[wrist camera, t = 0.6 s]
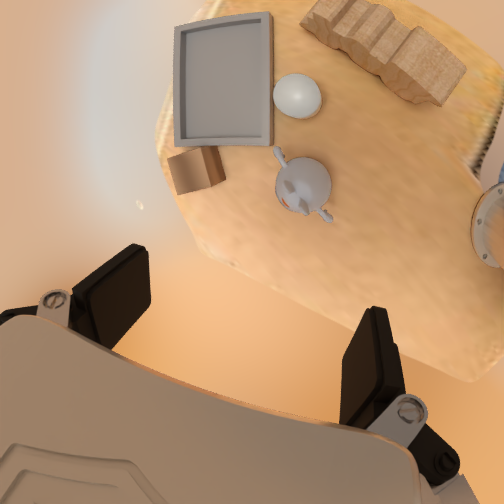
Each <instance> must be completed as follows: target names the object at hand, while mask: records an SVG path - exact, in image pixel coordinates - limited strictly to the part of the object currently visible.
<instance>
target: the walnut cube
mask: <svg viewBox="0 0 504 504" xmlns="http://www.w3.org/2000/svg"><path fill="white" fill-rule="evenodd" d="M167 161H168V164H169V168H170V171H171V175H172V178H173V181H174V185H175V188H176V191H177V195H181V194H185V193H189V192H193V191H197V190H201V189H205V188H209V187H212V186H214V185H216V184H218V183H220V182H222V181H224V180H226V177H225V173H224V169H223V166H222V162H221V158H220V155H219V151H218V147H217V145H216V146H206V147H201V148H197V149H194V150H191V151H188V152H185V153H182V154H179V155H176V156H173V157H170V158H168V159H167Z"/></svg>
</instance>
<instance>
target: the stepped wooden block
mask: <svg viewBox="0 0 504 504" xmlns="http://www.w3.org/2000/svg"><path fill="white" fill-rule="evenodd" d="M299 24H300V26H302V27H303V28H305V29H307V30H309V31H310V32H312V33H314V34H315V36H316V37H317V38H318V40H320V41H321V42H322V43H324V44H325V45H327V46H329V47H331V48H333V49H337V48H340V49H341V50H343V51H345V52H346V53H348V55H349V57H350V58H351V59H352V60H353V61H354V62H355V63H356V64H358V65H359V66H360V67H362V68H363V69H365V70H366V71H368V72H370V73H372V74H376V75H379V76H380V77H381V80H382V81H383V83H384V84H385V85H386V86H387V87H388V88H389V89H390V90H392V91H393V92H394V93H395V94H397V95H398V96H400V97H401V98H403V99H405V100H408V101H411V102H413V103H415V104H418V103H421V102H425V101H430V102H432V103H433V104H435V105H437V106H439V107H442V105H443V104H444V102H445V101H446V100H447V98H448V97H449V95H450V94H451V93H452V91H453V90H454V88H455V87H456V85H457V84H458V82H459V81H460V79H461V78H462V76H463V75H464V74H465V72H466V70H467V69H466V67H465V65H464V64H463V63H462V62H461V61H460V60H459V59H458V58H457V57H456V56H454V55H453V54H452V53H451V52H450V51H449V50H448V49H447V48H446V47H445V46H444V45H442V44H441V43H440V42H439V41H438V40H437V39H435V38H434V37H433V36H432V35H431V34H429V33H428V32H427V31H426V30H424V29H423V28H422V27H419V26H417V27H416V28H414V29H413V30H410V29H408V28H407V27H406V26H404V25H403V24H401V23H400V22H399V21H397V20H396V19H395V16H394V14H393V13H392V12H391V10H389V9H388V8H387V7H385V6H383V5H380V4H371V3H369V2H367V1H365V0H318V1H317V3H316V4H315V5H314V6H313V7H312V9H311V10H310V11H309V12H308V13H307V15H306V16H305V17H304V18H303V20H302V21H301V22H300V23H299Z"/></svg>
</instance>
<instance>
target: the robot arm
mask: <svg viewBox="0 0 504 504" xmlns="http://www.w3.org/2000/svg"><path fill="white" fill-rule="evenodd" d="M477 220H478V221H477ZM471 238H472V243H473V247H474V249H475V252H476V253H477V255H478V257H479V258H480V259H481V260H482V261H483V262H484V263H485V264H487V265H488V266H491V267H495V268H501V267H502V268H503V270H504V182H503V183H499V184H496V185H494V186H493V187H491V188H490V189H489V190H488V191H486V193H485V194H484V195H483V196H482V197H481V199H480V201H479V203H478V204H477V207H476V209H475V212H474V215H473V219H472V226H471ZM72 291H73V294H72V295H69V293H68V292H67V291H65V290H61V289H57V290H51V291H49V292H47V293H46V294H44V295H43V296H42V297H41V299H40V301H39V305H36V306H30V307H22V308H15V309H9V310H5V311H4V312H2V313H1V314H0V504H479V502H478V500H477V498H476V496H475V495H474V493H473V491H472V489H471V487H470V486H469V484H468V482H467V480H466V478H465V477H464V475H463V474H462V475H459V473H458V471H459V468H460V459H459V456H458V454H457V453H456V451H455V450H454V449H453V448H452V447H451V446H450V445H448V444H447V443H446V442H445V441H444V440H443V439H442V438H441V437H440V436H439V435H438V434H437V433H436V432H434V431H433V430H432V429H431V428H430V427H429V426H428V425H427V424H426V423H425V422H426V420H427V418H428V411H427V407H426V405H425V404H424V402H423V401H422V400H421V399H420V398H418V397H416V396H414V395H411V394H406V391H405V384H404V378H403V372H402V366H401V361H400V356H399V351H398V347H397V344H395V343H394V342H393V337H392V332H391V327H390V323H389V318H388V314H387V310H386V309H385V308H381V307H377V306H372V307H371V309H369V308H367V309H366V311H365V313H364V315H363V317H362V319H361V321H360V323H359V326H358V328H357V330H356V332H355V334H354V336H353V338H352V340H351V342H350V344H349V346H348V348H347V350H346V352H345V354H344V356H343V359H342V381H341V403H340V404H341V405H340V420H339V424H336V423H331V422H325V421H321V420H316V419H310V418H306V417H301V416H297V415H293V414H288V413H284V412H280V411H276V410H271V409H268V408H263V407H260V406H256V405H253V404H249V403H246V402H242V401H239V400H236V399H232V398H229V397H226V396H223V395H219V394H217V393H214V392H211V391H208V390H204V389H202V388H199V387H196V386H193V385H191V384H188V383H185V382H183V381H180V380H177V379H175V378H172V377H170V376H167V375H165V374H162V373H160V372H158V371H155V370H153V369H151V368H148V367H146V366H144V365H141V364H139V363H137V362H135V361H132V360H130V359H128V358H126V357H124V356H122V355H120V354H118V353H116V352H114V351H112V348H113V347H114V346H115V345H116V344H117V343H118V341H119V340H120V339H121V338H122V337H123V336H124V335H125V333H126V332H127V331H128V330H129V329H130V328H131V326H132V325H133V324H134V323H135V322H136V321H137V320H138V319H139V318H140V316H141V315H142V314H143V313H144V312H145V311H146V310H147V309H148V308H149V306H150V304H151V292H150V275H149V255H148V251H146V249H145V247H144V246H141V245H137V244H131V245H129V246H128V247H126V248H125V249H124V250H122V251H121V252H119V253H118V254H117V255H115V256H114V257H113V258H112V259H110V260H109V261H107V262H106V263H104V264H103V265H102V266H100V267H99V268H98V269H97V270H95V271H94V272H92V273H91V274H90V275H89V276H87V277H86V278H85V279H84V280H82V281H81V282H79V283H78V284H77V285H76V286H74V287H73V288H72Z"/></svg>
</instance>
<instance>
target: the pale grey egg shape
mask: <svg viewBox="0 0 504 504" xmlns="http://www.w3.org/2000/svg"><path fill="white" fill-rule="evenodd" d="M273 99H274V102H275V104H276V106H277V108H278V109H279V110H280V111H281V112H283V113H284V114H286V115H288V116H291V117H294V118H298V119H308V118H311V117H313V116H314V115H316V114H317V113H318V112H319V110H320V108H321V106H322V96H321V93H320V90H319V88H318V86H317V84H316V83H315V82H314V81H313V80H312V79H311V78H309V77H308V76H306V75H303V74H289V75H286V76H284V77H283V78H281V79H280V80H279V81H278V82H277V84H276V85H275V87H274V91H273Z"/></svg>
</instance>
